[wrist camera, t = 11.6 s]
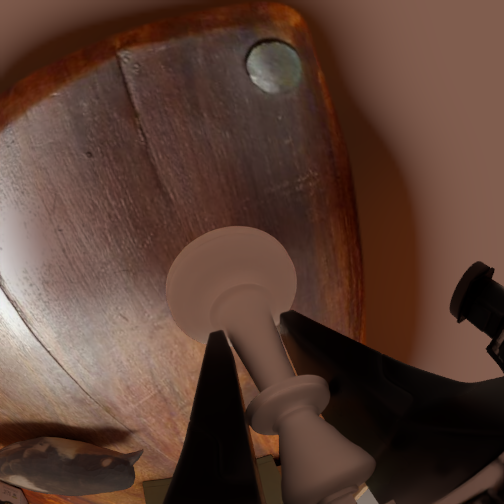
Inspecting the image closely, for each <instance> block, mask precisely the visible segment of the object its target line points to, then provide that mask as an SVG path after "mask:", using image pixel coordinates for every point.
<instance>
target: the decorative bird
mask: <svg viewBox="0 0 504 504" xmlns="http://www.w3.org/2000/svg"><path fill="white" fill-rule="evenodd" d="M142 453H143V449H142V450H140V451H137V452H133V453H128V454H123V453H120V452H117V451H113V450H110V449H107V448H102V447H98V446H96V445H93V444H90V443H86V442H81V441H76V440H69V439H64V438H57V437H39V438H35V439H29V440H25V441H20V442H16V443H13V444H11V445H8V446H6V447H4V448H2V449H1V450H0V480H1V481H5V482H7V483H9V484H12V485H15V486H18V487H21V488H24V489H27V490H31V491H35V492H40V493H46V494H59V495H66V496H82V495H90V494H99V493H106V492H113V491H119V490H124V489H127V488H130V487H131V486H132V485H133V484H134V480H135V471H134V467H133V464H134V463H135V462H136V461H137V460H138V459H139V458H140V456H141V455H142Z"/></svg>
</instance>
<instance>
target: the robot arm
mask: <svg viewBox="0 0 504 504" xmlns="http://www.w3.org/2000/svg"><path fill="white" fill-rule="evenodd" d="M494 271H495V269H494V268H493V267H492V268H490V269H488V270H487V271H485V272H484V273H482V274H480V275H479V276H477V277H476V278H474V279H472V280H471V281H470V283H469V286H468V289H467V293H466V296H465V299H464V302H463V305H462V307H461V310H460V313H459V316H458V319H457V323H459V324H460V323H461V322H463V321H464V320H465V319H467V320H468V321H470V322H471V323H472V324H473V325H474V326H476V327H477V328H478V329H479V330H480V331H482V332H484V333H486V334H487V335H488V336H489V337H490V338H492V341H491V342H490V344H489V345H488V346H487V348H486V350H487V352H488V353H489V355H490V356H491V357H492V358H493V359H494V360H495V361H496V363H497V364H498V365H499V367H500V368H501V370H502V371H503V373H504V287H503V286H502V285H500V284H499V283H497V282H496V281H494V280H493V279H492V277H493V274H494ZM279 319H280V334H281V338H282V340H283V343H284V345H285V347H286V350H287V352H288V354H289V356H290V359H291V361H292V363H293V365H294V368H295V370H296V372H297V374H298V376H300V375H316V376H320V377H322V378H324V379H325V380H326V381H327V383H328V386H329V391H330V400H329V403H328V405H327V406H326V408H325V409H324V410H323V412H322V413H321V415H322V416H323V418H324V419H325V421H326V422H328V423H329V424H330V425H332V426H333V427H335V428H336V429H337V430H338V431H339V432H340V433H341V434H342V435H343V436H344V437H346V438H347V439H348V440H350V441H351V442H352V443H354V444H356V445H357V446H359V447H361V448H362V449H363V450H365V451H366V452H367V453H369V454H370V455H371V456H372V457H373V458H374V459H375V461H376V467H375V470H374V472H373V474H372V475H371V476H370V478H369V479H368V480H367V481H365V484H366V485H367V487H368V488H369V489H370V491H371V492H372V494H373V495H374V497H375V499H376V500H377V502H378V503H379V504H386V503H388V502H389V501H391V500H394V502H395V503H396V504H504V376H503V377H499V378H495V379H490V380H486V381H481V382H475V383H465V382H459V381H455V380H452V379H449V378H445V377H442V376H439V375H436V374H433V373H430V372H427V371H424V370H421V369H418V368H415V367H413V366H410V365H407V364H405V363H402V362H400V361H398V360H395V359H393V358H391V357H389V356H387V355H384V354H381V353H380V352H378V351H376V350H374V349H371V348H369V347H367V346H365V345H363V344H361V343H359V342H357V341H355V340H353V339H351V338H349V337H346V336H344V335H342V334H340V333H338V332H336V331H334V330H332V329H330V328H328V327H326V326H324V325H322V324H320V323H318V322H316V321H314V320H312V319H310V318H308V317H306V316H304V315H302V314H300V313H298V312H296V311H294V310H289V311H286V312H283V313H281V314H280V316H279ZM245 412H246V409H245V404H244V400H243V395H242V391H241V387H240V383H239V378H238V374H237V369H236V365H235V360H234V356H233V354H232V351H231V348H230V346H229V343H228V341H227V338H226V336H225V333H224V331H223V330H218V331H214V332H211V333H210V334H209V337H208V341H207V346H206V350H205V354H204V358H203V363H202V367H201V371H200V376H199V380H198V384H197V389H196V393H195V398H194V402H193V407H192V411H191V416H190V422H189V424H188V429H187V433H186V437H185V441H184V445H183V449H182V452H181V455H180V458H179V461H178V464H177V466H176V469H175V472H174V474H173V477H172V479H171V482H170V485H169V487H168V490H167V493H166V495H165V498H164V500H163V503H162V504H267V503H266V499H265V495H264V491H263V487H262V482H261V478H260V474H259V469H258V465H257V461H256V456H255V452H254V447H253V442H252V438H251V433H250V428H249V424H248V423H247V420H246V416H245Z"/></svg>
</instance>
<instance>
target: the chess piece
mask: <svg viewBox="0 0 504 504" xmlns="http://www.w3.org/2000/svg"><path fill="white" fill-rule="evenodd" d="M296 289H297V276H296V271H295V267H294V265H293V262H292V260H291V259H290V257H289V255H288V253H287V251H286V250H285V248H284V247H283V246H282V244H281V243H280V242H279V241H278V240H277V239H275V238H274V237H273V236H271V235H270V234H268V233H266V232H264V231H262V230H259V229H256V228H252V227H246V226H229V227H223V228H219V229H215V230H212V231H210V232H207V233H205V234H203V235H201V236H199V237H198V238H196V239H195V240H193V241H192V242H190V243H189V244H188V245H187V246H186V247H185V248H184V249H183V250H182V251H181V252H180V253H179V254H178V256H177V257H176V259H175V260H174V262H173V264H172V266H171V268H170V270H169V273H168V276H167V280H166V299H167V303H168V306H169V309H170V311H171V314H172V317H173V319H174V321H175V322H176V324H177V325H178V327H179V328H180V329H181V330H182V331H183V332H184V333H185V334H186V335H188V336H189V337H191V338H192V339H194V340H196V341H198V342H200V343H203V344H206V345H207V341H208V337H209V334H210V333H211V332H214V331H218V330H223V331H224V333H225V336H226V338H227V341H228V343H229V346H230V347H232V346H233V347H234V349H235V351H236V352H237V354H238V356H239V357H240V359H241V360H242V362H243V364H244V366H245V367H246V369H247V370H248V372H249V374H250V376H251V377H252V379H253V381H254V383H255V385H256V386H257V388H258V390H259V391H260V394H258V395H257V396H256V397H255V398H254V399H253V400H252V401H251V403H250V404H249V405H248V407H247V409H246V412H245V416H246V420H247V423H248V424H249V425H250V426H251V427H252V429H253V430H254V431H255V432H257V433H260V434H263V435H279V456H280V461H281V474H282V480H281V493H282V501H283V504H357V502H356V501H355V499H354V497H353V496H352V495H353V494H354V493H356V492H357V491H358V490H359V488H358V487H359V486H360V485H362V484H363V483H364V482H365V481H367V480H368V479H369V478H370V476H371V475H372V474H373V472H374V470H375V467H376V461H375V459H374V458H373V457H372V456H371V455H370V454H369V453H367V452H366V451H365V450H363V449H362V448H361V447H359V446H357V445H356V444H354V443H352V442H351V441H350V440H348V439H347V438H346V437H344V436H343V435H342V434H341V433H340V432H339V431H338V430H337V429H336V428H335V427H333V426H332V425H330V424H329V423H328V422H326V421H325V420H323V419H322V418H321V417H319V415H320V414H321V413H322V412H323V410H324V409H325V408H326V406H327V405H328V403H329V400H330V391H329V386H328V383H327V381H326V380H325V379H324V378H322V377H320V376H316V375H300V376H295V373H294V371H293V369H292V366H291V364H290V362H289V359H288V357H287V355H286V352H285V349H284V347H283V344H282V342H281V339H280V336H279V334H278V331H277V328H276V326H277V325H278V324H279V323H280V319H279V316H280V314H281V313H283V312H286V311H289V309H290V308H291V306H292V303H293V301H294V298H295V294H296ZM386 504H396V503H395V502H394V500H391V501H389V502H388V503H386Z"/></svg>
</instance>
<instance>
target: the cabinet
mask: <svg viewBox="0 0 504 504" xmlns="http://www.w3.org/2000/svg"><path fill="white" fill-rule="evenodd" d="M256 461H257V465H258V469H259V474H260V478H261V482H262V487H263V491H264V495H265V499H266V503H267V504H283V501H282V493H281V480H282V477H281V475H280V473H279V471H278V469H277V466H276V464H275V462H274V460H273V457H272V455H269V456H265V457H262V458H259V459H256ZM171 479H172V478H170V479H163V480H155V481H145V482H143V488H144V495H145V501H146V504H162V503H163V500H164V498H165V495H166V493H167V490H168V487H169V485H170V482H171Z"/></svg>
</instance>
